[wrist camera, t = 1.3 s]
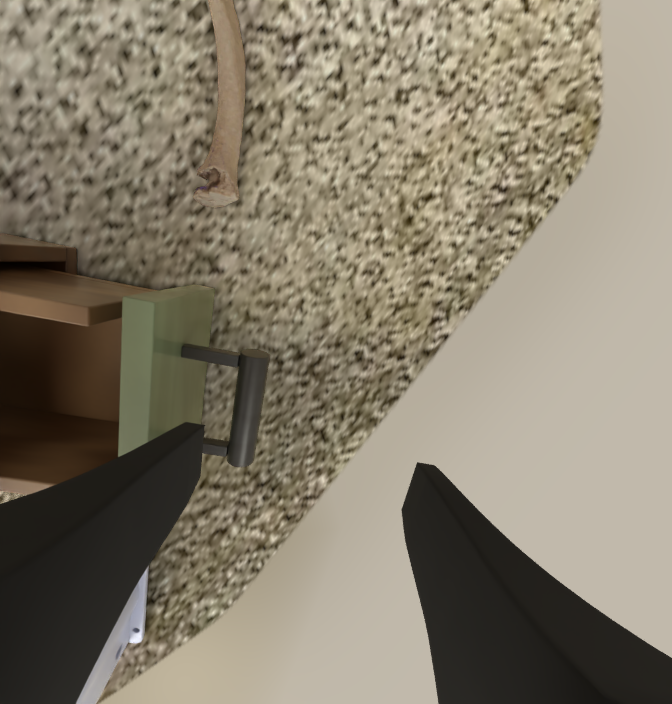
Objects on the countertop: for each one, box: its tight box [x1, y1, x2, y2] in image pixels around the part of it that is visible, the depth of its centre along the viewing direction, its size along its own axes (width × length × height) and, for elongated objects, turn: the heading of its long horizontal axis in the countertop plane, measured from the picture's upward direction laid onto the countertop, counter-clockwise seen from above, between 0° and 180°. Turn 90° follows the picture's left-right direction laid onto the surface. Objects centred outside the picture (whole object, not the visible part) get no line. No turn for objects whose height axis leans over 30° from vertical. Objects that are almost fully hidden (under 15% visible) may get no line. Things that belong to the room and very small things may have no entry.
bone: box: [193, 0, 245, 208], centre depth 16 cm, size 3×11×2 cm, turn 176°
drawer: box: [0, 262, 270, 495], centre depth 16 cm, size 17×10×7 cm, turn 78°
